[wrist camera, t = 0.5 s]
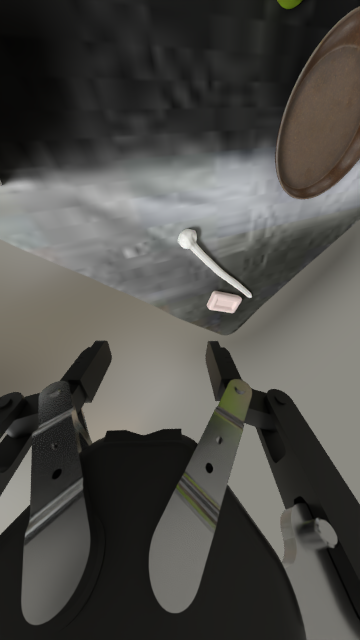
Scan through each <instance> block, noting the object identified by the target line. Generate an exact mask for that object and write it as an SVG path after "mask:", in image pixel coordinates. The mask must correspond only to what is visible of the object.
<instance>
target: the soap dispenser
mask: <svg viewBox="0 0 360 640" xmlns="http://www.w3.org/2000/svg"><path fill="white" fill-rule="evenodd" d="M277 1H278V3H279V4H280V5H281V6H282V7H283V8H285V9H291V8H294V7H296V6H297V5H298V4H299V3H300V2H301V1H302V0H277Z"/></svg>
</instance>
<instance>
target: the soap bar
mask: <svg viewBox="0 0 360 640" xmlns="http://www.w3.org/2000/svg"><path fill="white" fill-rule="evenodd" d="M241 301H242V298H241V297H240V296H239V295H234V294H229V293H224V292H219V291H213V293H212V295H211V297H210V299H209V301H208V303H207V306H208V308H209V310H215V311H222V312H228V313H234V312H235V311H236V309H237V307H238V306H239V304H240V303H241Z"/></svg>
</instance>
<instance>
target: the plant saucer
mask: <svg viewBox="0 0 360 640" xmlns="http://www.w3.org/2000/svg"><path fill="white" fill-rule="evenodd" d="M359 159H360V7H358V8H356V9H354V10H353V11H351V12H350V13H348V14H347V15H346V16H345V17H343V18H342V19H341V20H340V21H339V22H338V23H337V24H336V25H335V26H334V27H333V28H332V29H331V30H330V31H329V32H328V33H327V35H326V36H325V37H324V38H323V40H322V41H321V42H320V43H319V45H318V46H317V48H316V49H315V50H314V52H313V53H312V55H311V57H310V58H309V60H308V62H307V63H306V65H305V67H304V68H303V70H302V72H301V74H300V76H299V78H298V80H297V82H296V84H295V86H294V88H293V90H292V92H291V95H290V97H289V100H288V102H287V105H286V107H285V110H284V113H283V116H282V120H281V123H280V127H279V131H278V136H277V143H276V152H275V163H276V172H277V176H278V179H279V182H280V184H281V186H282V188H283V189H284V191H285V192H286V193H287V194H288V195H290V196H291V197H293V198H296V199H309V198H313V197H316V196H318V195H320V194H322V193H324V192H325V191H327V190H329V189H330V188H331V187H333V186H334V185H335V184H336V183H338V182H339V181H340V180H341V179H342V178H343V177H344V176H345V175H346V174H347V173H348V172H349V171H350V170H351V168H352V167H353V166H354V165H355V164H356V162H357V161H358V160H359Z"/></svg>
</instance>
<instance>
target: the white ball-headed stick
mask: <svg viewBox="0 0 360 640" xmlns="http://www.w3.org/2000/svg"><path fill="white" fill-rule="evenodd" d="M196 241H197V234H196V231H195V230H192V229H185V230H183V231H182V232H181V233H180V235H179V238H178V242H179V244H180V245H181V247H183V248H185V249H191V250H192V251H193V252H194V253H195V254H196V255H197V256H198V257H199V258H200V259H201V260H202V261H203V262H204V263H205V264H206V265H207V266H208V267H210V268H211V269H212V270H213V271H214V272H215V273H216V274H217V275H218V276H220V277H221V278H223V279H224V280H226V281H227V282H228V283H230V284H231V285H233V286H234V287H235V288H237V289H238V290H240V291H241V292H242V293H243V294H244V295H246V296H247V297H249V298H251V297H252V294H251V292H249V291H248V290H247V289H246V288H245V287H244V286H243V285H241V284H240V283H239V282H238V281H237V280H236V279H234V278H233V277H231V276H230V275H228V274H227V273H226V272H225V271H224V270H222V269H221V268H220V267H219V266H218V265H217V264H216V263H215V262H214V261H213V260H212V259H211V258H210V257H209V256H208V255H207V254H206V253H205V252H204V251H203V250H202V249H201V248H200V247H199V246H198V244H197V243H196Z"/></svg>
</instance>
